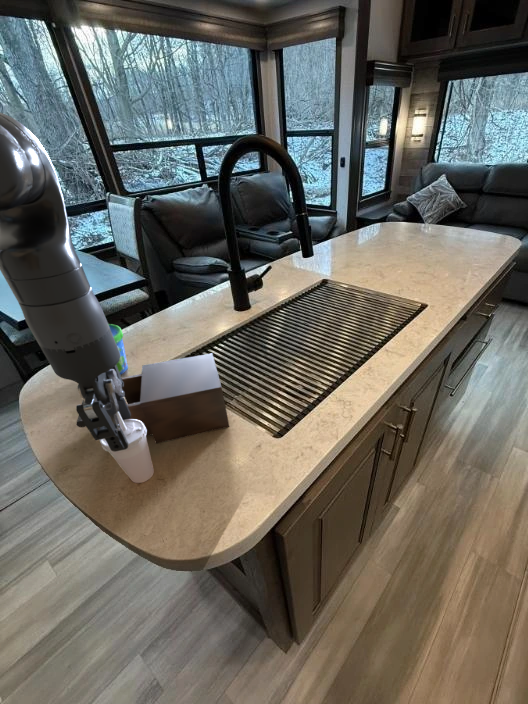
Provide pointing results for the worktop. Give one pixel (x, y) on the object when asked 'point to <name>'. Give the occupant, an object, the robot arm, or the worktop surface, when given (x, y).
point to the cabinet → (182, 397)
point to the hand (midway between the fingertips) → (122, 432)
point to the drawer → (129, 401)
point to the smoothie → (133, 451)
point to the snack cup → (119, 347)
